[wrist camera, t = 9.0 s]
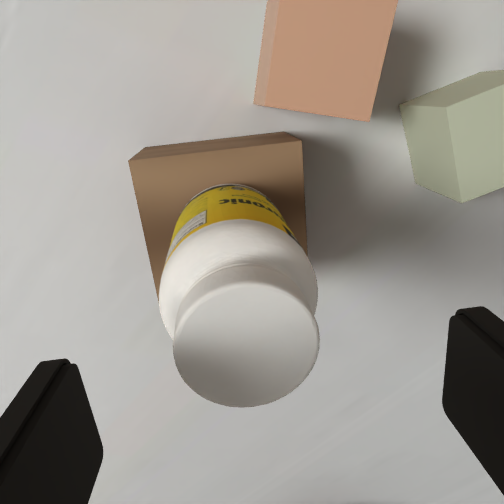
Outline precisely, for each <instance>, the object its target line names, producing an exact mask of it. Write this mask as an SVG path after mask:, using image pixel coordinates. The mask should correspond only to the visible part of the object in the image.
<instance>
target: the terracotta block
mask: <svg viewBox="0 0 504 504" xmlns="http://www.w3.org/2000/svg"><path fill="white" fill-rule="evenodd" d="M397 3H398V0H268V1H267V5H266V13H265V20H264V28H263V35H262V43H261V50H260V58H259V65H258V73H257V80H256V87H255V95H254V102H253V104H256V105H262V106H268V107H274V108H281V109H287V110H294V111H301V112H307V113H314V114H320V115H327V116H334V117H340V118H347V119H353V120H360V121H367V122H369V121H370V117H371V113H372V109H373V104H374V100H375V96H376V92H377V87H378V83H379V79H380V75H381V70H382V66H383V62H384V58H385V53H386V49H387V45H388V41H389V36H390V32H391V28H392V24H393V20H394V15H395V11H396V7H397Z"/></svg>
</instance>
